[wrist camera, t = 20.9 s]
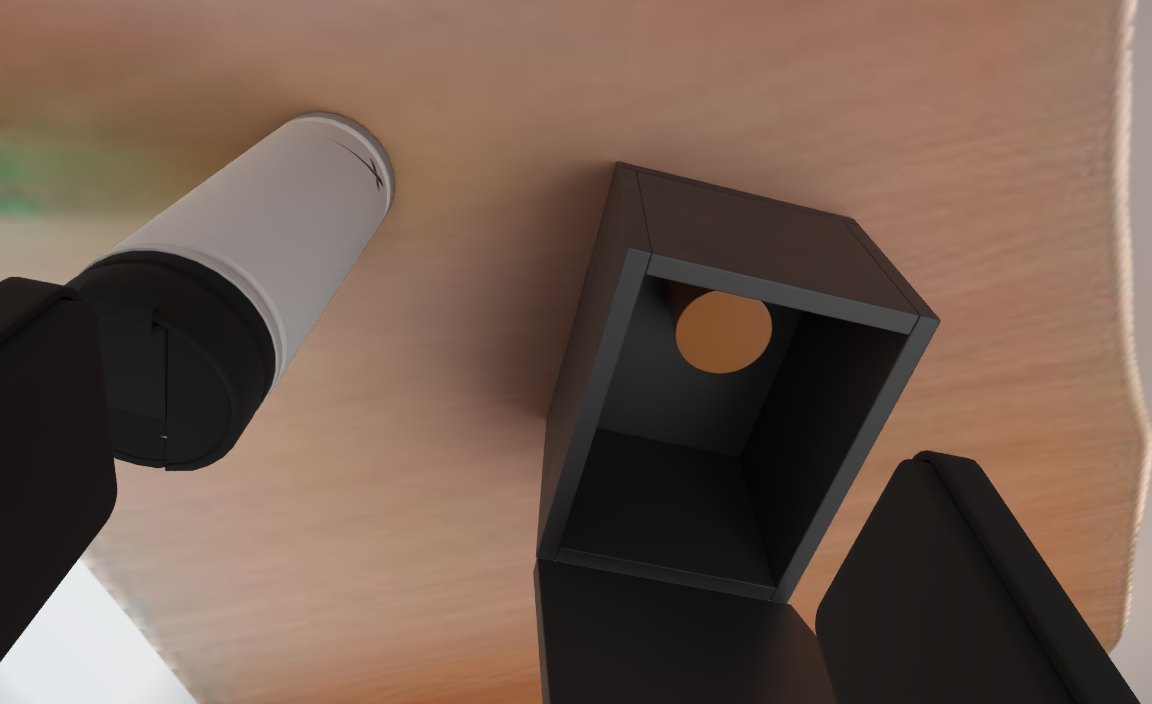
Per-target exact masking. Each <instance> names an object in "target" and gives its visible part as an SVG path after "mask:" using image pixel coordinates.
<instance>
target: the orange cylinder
mask: <svg viewBox="0 0 1152 704" xmlns="http://www.w3.org/2000/svg"><path fill="white" fill-rule="evenodd" d="M666 295H667V301H668V305H669V310H670V315H671V320H672V325H673V330H674V335H675V339H676V344H677V347H678V349H679V351H680V353H681V355H682V356H683V357H684V359H685V360H686V361H687V362H689V363H690V364H691V365H693V366H694V367H696V368H698V369H700V370H703V371H706V372H711V373H728V372H733V371H737V370H740V369H742V368H744V367H746V366H748V365H750V364H751V363H753V362H754V361H755V360H756V359H757V358H759V357H760V355H761V354H762V353H763V352H764V350H765V349H766V347H767V345H768V343H769V341H770V338H771V334H772V320H771V316H770V313H769V311H768V309H767V307H766V305H765V302H763V301H759V300H755V299H750V298H746V297H742V296H737V295H733V294H729V293H724V292H720V291H716V290H711V289H707V288H702V287H698V286H694V285H689V284H685V283H681V282H676V281H672V280H668V279H667V281H666Z"/></svg>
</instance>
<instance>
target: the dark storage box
mask: <svg viewBox="0 0 1152 704" xmlns="http://www.w3.org/2000/svg"><path fill="white" fill-rule="evenodd" d="M667 279H668V280H672V281H676V282H681V283H685V284H689V285H694V286H698V287H702V288H707V289H711V290H716V291H720V292H724V293H729V294H733V295H737V296H742V297H746V298H750V299H755V300H759V301H763V302H765V305H766V307H767V309H768V311H769V313H770V316H771V320H772V334H771V338H770V341H769V343H768V345H767V347H766V349H765V350H764V352H763V353H762V354H761V355H760V357H759V358H757V359H756V360H755V361H754V362H753V363H751V364H750V365H748V366H746V367H744V368H742V369H740V370H737V371H733V372H728V373H711V372H706V371H703V370H700V369H698V368H696V367H694V366H693V365H691V364H690V363H689V362H687V361H686V360H685V359H684V357H683V356H682V355H681V353H680V351H679V349H678V347H677V344H676V339H675V335H674V330H673V325H672V320H671V315H670V310H669V305H668V301H667V295H666V281H667ZM939 324H940V319H939V318H938V317H937V315H936V314H935V313H934V312H933V311H932V310H931V308H930V307H929V306H928V305H927V304H926V303H925V301H924V300H923V299H922V298H921V297H920V296H919V294H918V293H917V292H916V291H915V290H914V289H913V287H912V286H911V285H910V284H909V283H908V282H907V280H906V279H905V278H904V277H903V276H902V275H901V273H900V272H899V271H898V270H897V269H896V268H895V266H894V265H893V264H892V263H891V262H890V261H889V259H888V258H887V257H886V256H885V255H884V254H883V252H882V251H881V250H880V249H879V248H878V247H877V245H876V244H875V243H874V242H873V241H872V240H871V238H870V237H869V236H868V235H867V234H866V233H865V231H864V230H863V229H862V228H861V227H860V226H859V224H858V223H857V222H856V221H855V220H854V219H851V218H847V217H842V216H838V215H834V214H830V213H826V212H822V211H818V210H814V209H810V208H806V207H802V206H798V205H794V204H789V203H785V202H781V201H777V200H773V199H769V198H765V197H761V196H757V195H753V194H749V193H745V192H741V191H736V190H732V189H728V188H724V187H720V186H716V185H712V184H708V183H704V182H700V181H696V180H692V179H688V178H683V177H679V176H675V175H671V174H667V173H663V172H659V171H655V170H651V169H647V168H643V167H639V166H635V165H630V164H626V163H622V162H617V164H616V168H615V172H614V175H613V179H612V183H611V186H610V190H609V194H608V197H607V201H606V205H605V208H604V212H603V216H602V219H601V223H600V227H599V230H598V234H597V238H596V241H595V245H594V249H593V252H592V256H591V260H590V263H589V267H588V271H587V274H586V278H585V282H584V285H583V289H582V293H581V296H580V300H579V304H578V307H577V311H576V315H575V318H574V322H573V326H572V329H571V333H570V337H569V340H568V344H567V348H566V351H565V355H564V359H563V362H562V366H561V370H560V373H559V377H558V381H557V384H556V388H555V392H554V395H553V399H552V403H551V406H550V410H549V414H548V417H547V421H546V433H545V446H544V458H543V471H542V484H541V497H540V510H539V522H538V535H537V548H536V558H541V559H546V560H552V561H554V560H555V561H557V562H563V563H568V564H573V565H579V566H584V567H590V568H595V569H600V570H606V571H611V572H617V573H622V574H627V575H633V576H638V577H644V578H649V579H654V580H660V581H665V582H670V583H676V584H681V585H687V586H692V587H697V588H703V589H708V590H714V591H719V592H724V593H730V594H735V595H741V596H746V597H751V598H757V599H762V600H768V601H769V600H770V601H774V602H779V603H784V604H787V602H788V601H789V599H790V597H791V595H792V593H793V591H794V590H795V588H796V586H797V584H798V582H799V580H800V579H801V577H802V575H803V573H804V571H805V569H806V568H807V566H808V564H809V562H810V560H811V558H812V557H813V555H814V553H815V551H816V549H817V547H818V546H819V544H820V542H821V540H822V538H823V536H824V535H825V533H826V531H827V529H828V527H829V525H830V524H831V522H832V520H833V518H834V516H835V514H836V512H837V511H838V509H839V507H840V505H841V503H842V501H843V500H844V498H845V496H846V494H847V492H848V490H849V489H850V487H851V485H852V483H853V481H854V479H855V478H856V476H857V474H858V472H859V470H860V468H861V467H862V465H863V463H864V461H865V459H866V457H867V456H868V454H869V452H870V450H871V448H872V446H873V445H874V443H875V441H876V439H877V437H878V435H879V434H880V432H881V430H882V428H883V426H884V424H885V423H886V421H887V419H888V417H889V415H890V413H891V412H892V410H893V408H894V406H895V404H896V402H897V401H898V399H899V397H900V395H901V393H902V391H903V390H904V388H905V386H906V384H907V382H908V380H909V379H910V377H911V375H912V373H913V371H914V369H915V368H916V366H917V364H918V362H919V360H920V358H921V357H922V355H923V353H924V351H925V349H926V347H927V346H928V344H929V342H930V340H931V338H932V336H933V335H934V333H935V331H936V329H937V327H938V325H939Z"/></svg>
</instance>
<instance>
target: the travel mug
mask: <svg viewBox="0 0 1152 704" xmlns="http://www.w3.org/2000/svg"><path fill="white" fill-rule="evenodd" d="M394 190H395V180H394V172H393V169H392V166H391V163H390V159H389V157H388V156H387V154H386V152H385V150H384V148H383V147H382V146H381V144H380V143H379V142H378V141H377V139H376V138H375V137H374V136H373V135H372V134H371V133H370V132H369V131H367V130H366V129H365V128H364V127H363V126H361V125H359V124H358V123H356V122H354V121H353V120H351V119H348V118H346V117H343V116H341V115H337V114H332V113H327V112H312V113H308V114H303V115H300V116H297V117H295V118H293V119H291V120H289V121H288V122H286V123H285V124H283V125H282V126H281V127H279V128H278V129H276V130H275V131H274V132H272V133H271V134H270V135H268V136H267V137H265V138H264V139H263V140H261V141H260V142H258V143H257V144H256V145H254V146H253V147H252V148H250V149H249V150H247V151H246V152H245V153H243V154H242V155H240V156H239V157H238V158H236V159H235V160H233V161H232V162H231V163H229V164H228V165H227V166H225V167H224V168H222V169H221V170H220V171H218V172H217V173H215V174H214V175H213V176H211V177H210V178H209V179H207V180H206V181H204V182H203V183H202V184H200V185H199V186H197V187H196V188H195V189H193V190H192V191H190V192H189V193H188V194H186V195H185V196H184V197H182V198H181V199H179V200H178V201H177V202H175V203H174V204H172V205H171V206H170V207H168V208H167V209H165V210H164V211H163V212H161V213H160V214H159V215H157V216H156V217H154V218H153V219H152V220H150V221H149V222H147V223H146V224H145V225H143V226H142V227H141V228H139V229H138V230H136V231H135V232H134V233H132V234H131V235H129V236H128V237H127V238H125V239H124V240H122V241H121V242H120V243H118V244H117V245H116V246H114V247H113V248H111V249H110V250H109V251H108V252H106V253H105V254H104V255H102V256H100V257H99V258H98V259H96V260H95V261H94V262H92V263H91V264H90V265H89V266H87V267H86V268H85V269H84V270H82V271H81V273H80V274H79V275H78V276H77V277H75V278H74V279H72V280H71V281H70V282H68V283H67V284H65V285H64V286H68V287H72V288H73V289H75V290H76V291H77V292H78V293H79V295H80V297H81V299H82V303H86V304H89V305H91V306H92V307H93V309H94V310H95V312H96V316H97V322H98V331H99V339H100V348H101V356H102V364H103V373H104V381H105V389H106V398H107V406H108V414H109V423H110V431H111V439H112V448H113V456H114V458H116V459H119V460H122V461H126V462H129V463H133V464H136V465H141V466H148V467H154V468H162V467H165V471H193V470H197V469H200V468H203V467H206V466H209V465H211V464H213V463H214V462H216V461H218V460H219V459H221V458H223V457H224V456H225V455H226V454H227V453H228V452H229V451H230V450H231V449H232V448H233V447H234V445H235V444H236V442H237V440H238V439H239V437H240V436H241V434H242V433H243V431H244V430H245V428H246V427H247V425H248V424H249V422H250V421H251V419H252V418H253V416H254V414H255V412H256V410H257V409H258V408H259V407H260V406H261V405H262V404H263V403H264V402H265V400H266V399H267V398H268V396H269V395H270V393H271V392H272V390H273V388H274V386H275V385H276V384H277V383H278V381H279V380H280V378H281V376H282V375H283V373H284V372H285V370H286V369H287V367H288V366H289V364H290V363H291V361H292V359H293V358H294V356H295V355H296V353H297V352H298V350H299V349H300V347H301V346H302V344H303V343H304V341H305V339H306V338H307V336H308V335H309V333H310V332H311V330H312V329H313V327H314V326H315V324H316V323H317V321H318V319H319V318H320V316H321V315H322V313H323V312H324V310H325V309H326V307H327V306H328V304H329V302H330V301H331V299H332V298H333V296H334V295H335V293H336V292H337V290H338V289H339V287H340V286H341V284H342V282H343V281H344V279H345V278H346V276H347V275H348V273H349V272H350V270H351V269H352V267H353V266H354V264H355V262H356V261H357V259H358V258H359V256H360V255H361V253H362V252H363V250H364V249H365V247H366V245H367V244H368V242H369V241H370V239H371V238H372V236H373V235H374V233H375V232H376V230H377V229H378V227H379V225H380V224H381V222H382V221H383V219H384V218H385V216H386V214H387V213H388V211H389V209H390V207H391V204H392V201H393V198H394Z"/></svg>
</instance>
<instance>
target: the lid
mask: <svg viewBox="0 0 1152 704" xmlns="http://www.w3.org/2000/svg"><path fill="white" fill-rule="evenodd" d="M533 574H534V588H535V602H536V616H537V630H538V644H539V657H540V671H541V685H542V699H543V704H837V702H836V698H835V695H834V692H833V689H832V685H831V682H830V679H829V675H828V672H827V669H826V666H825V662H824V659H823V656H822V652H821V649H820V646H819V643H818V639H817V636H816V635H815V634H814V633H813V631H812V630H811V629H810V628H809V627H808V625H807V624H806V623H805V622H804V620H803V619H802V618H801V617H800V615H799V614H798V613H797V612H796V610H795V609H794V608H793V607H792V606H791V605H789V604H784V603H778V602H773V601H768V600H762V599H757V598H751V597H746V596H741V595H735V594H730V593H724V592H719V591H714V590H708V589H703V588H697V587H692V586H687V585H681V584H676V583H670V582H665V581H660V580H654V579H649V578H644V577H638V576H633V575H627V574H622V573H617V572H611V571H606V570H600V569H595V568H590V567H584V566H579V565H573V564H568V563H563V562H557V561H552V560H546V559H541V558H537V559H536V564H535V568H534V572H533Z"/></svg>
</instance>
